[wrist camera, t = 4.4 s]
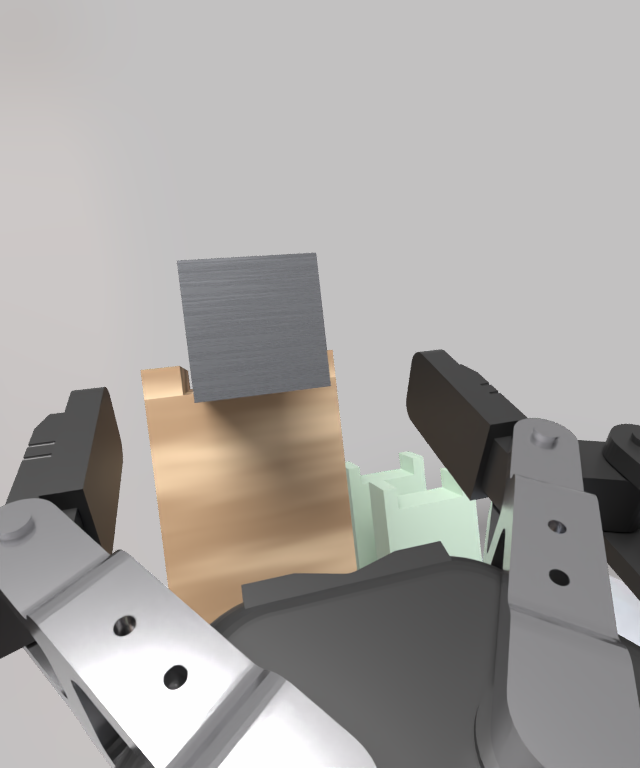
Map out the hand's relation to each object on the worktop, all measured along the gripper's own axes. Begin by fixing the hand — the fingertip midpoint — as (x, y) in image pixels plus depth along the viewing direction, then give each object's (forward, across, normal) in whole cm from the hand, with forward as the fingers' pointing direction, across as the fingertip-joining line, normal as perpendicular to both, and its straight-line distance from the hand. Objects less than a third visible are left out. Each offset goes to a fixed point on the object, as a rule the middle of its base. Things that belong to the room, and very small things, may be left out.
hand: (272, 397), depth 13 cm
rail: (+9, 0, +5) cm, 11 cm away
